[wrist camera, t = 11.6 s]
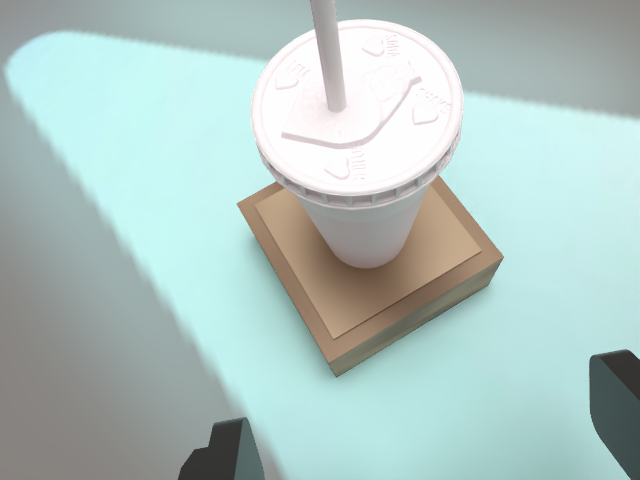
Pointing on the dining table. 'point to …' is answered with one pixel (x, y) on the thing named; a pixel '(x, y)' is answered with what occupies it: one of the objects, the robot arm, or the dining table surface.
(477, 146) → the dining table surface
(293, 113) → the smoothie
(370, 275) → the base
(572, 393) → the dining table surface
